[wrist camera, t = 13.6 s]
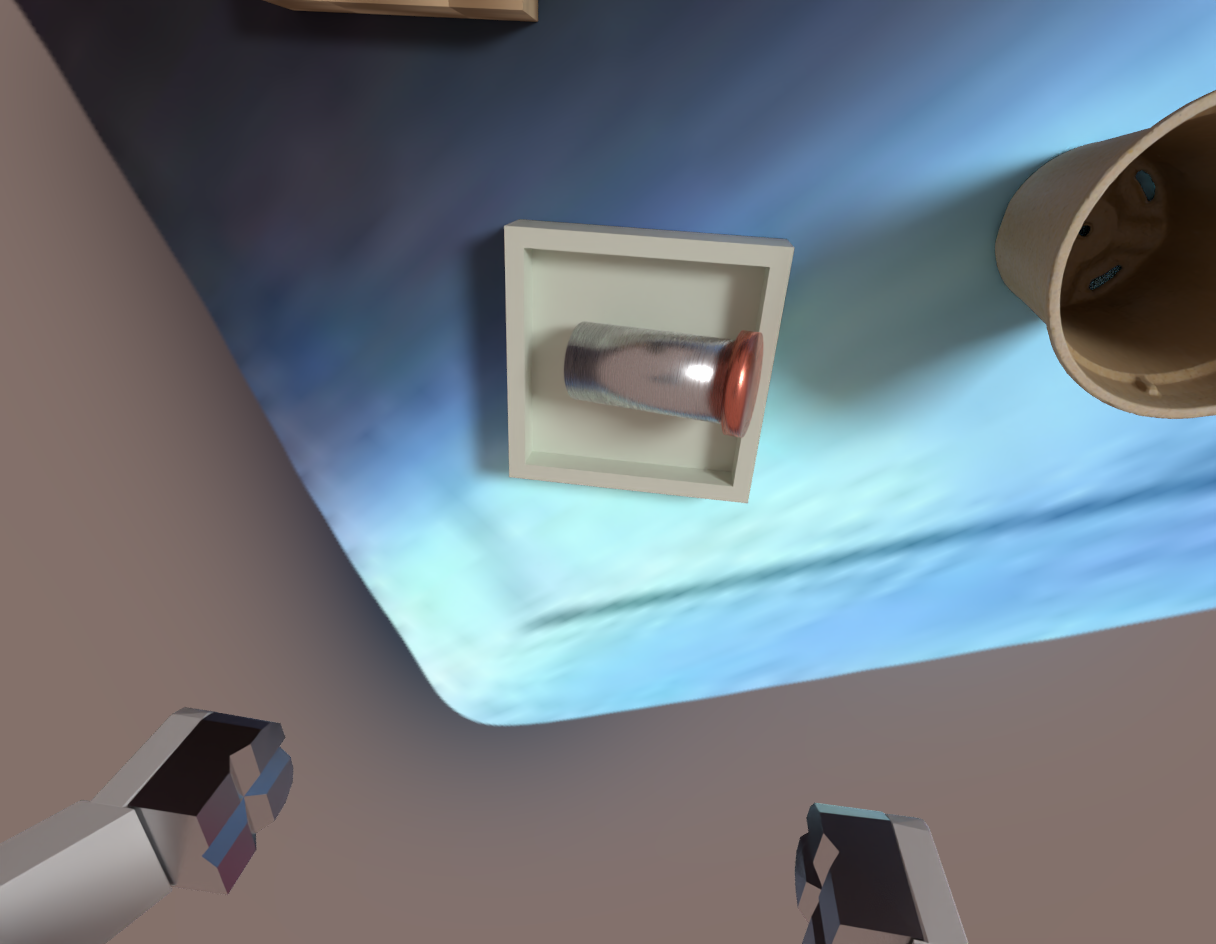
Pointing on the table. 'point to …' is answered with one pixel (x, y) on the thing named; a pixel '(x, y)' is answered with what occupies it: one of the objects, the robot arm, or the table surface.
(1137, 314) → the flower pot
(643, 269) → the tray
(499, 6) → the block
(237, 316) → the table surface
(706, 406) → the pin
